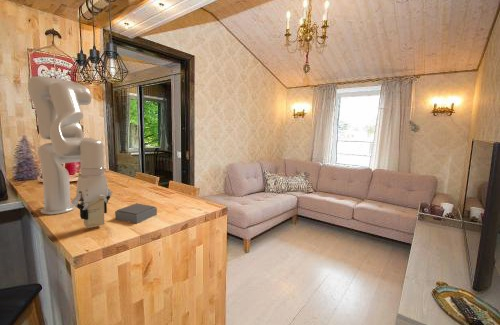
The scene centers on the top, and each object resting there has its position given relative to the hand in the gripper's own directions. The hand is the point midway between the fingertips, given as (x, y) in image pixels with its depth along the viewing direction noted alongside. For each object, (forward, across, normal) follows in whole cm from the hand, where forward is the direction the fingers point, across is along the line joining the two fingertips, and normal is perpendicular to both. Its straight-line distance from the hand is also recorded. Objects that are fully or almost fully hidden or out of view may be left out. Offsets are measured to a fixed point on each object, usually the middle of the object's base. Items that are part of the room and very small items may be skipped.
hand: (94, 215), depth 94 cm
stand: (+5, -16, +6) cm, 18 cm away
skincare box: (+4, 0, 0) cm, 4 cm away
